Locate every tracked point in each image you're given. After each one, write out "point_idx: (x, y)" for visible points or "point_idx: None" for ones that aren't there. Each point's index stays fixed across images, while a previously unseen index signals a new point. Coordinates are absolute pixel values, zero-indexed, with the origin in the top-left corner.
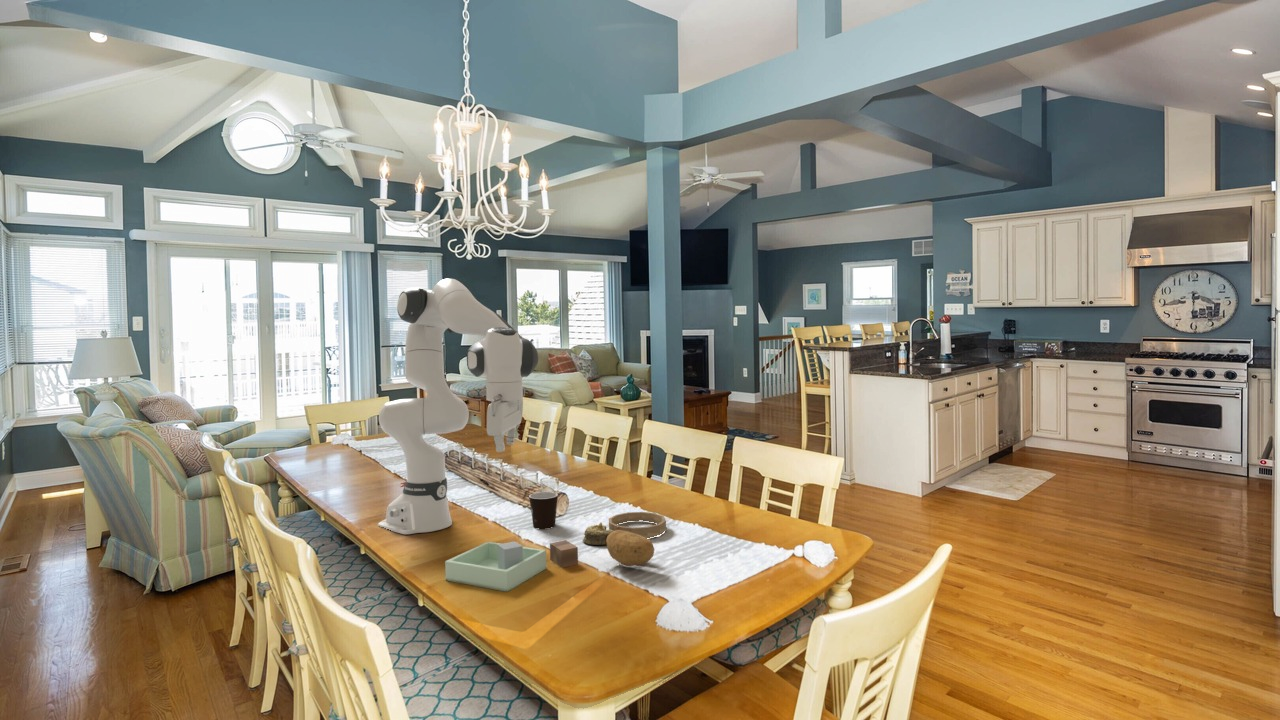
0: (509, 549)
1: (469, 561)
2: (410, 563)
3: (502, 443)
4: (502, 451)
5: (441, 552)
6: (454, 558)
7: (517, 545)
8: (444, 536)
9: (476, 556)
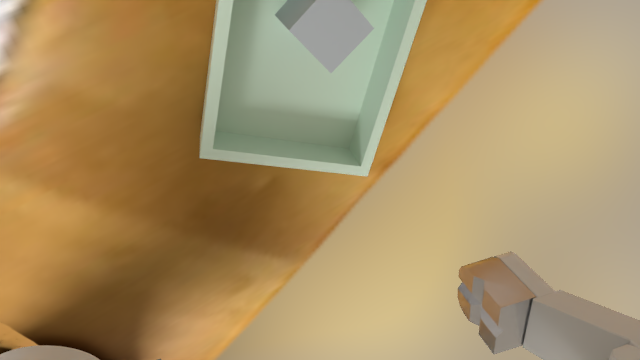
0: (362, 15)
1: (292, 148)
2: (273, 272)
3: (578, 300)
4: (510, 252)
5: (191, 260)
6: (346, 167)
7: (331, 1)
8: (79, 319)
9: (266, 146)
